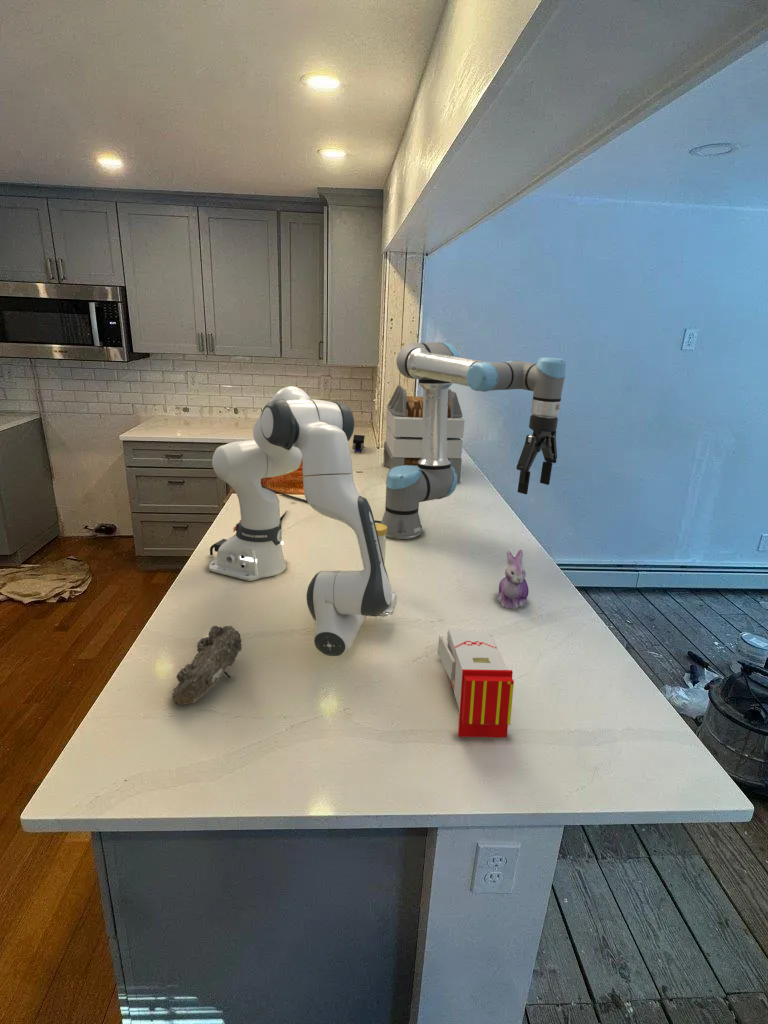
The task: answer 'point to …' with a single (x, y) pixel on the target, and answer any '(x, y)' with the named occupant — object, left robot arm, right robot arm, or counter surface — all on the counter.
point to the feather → (282, 516)
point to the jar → (382, 545)
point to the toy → (478, 682)
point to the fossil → (207, 664)
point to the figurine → (513, 583)
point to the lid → (381, 529)
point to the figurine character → (358, 442)
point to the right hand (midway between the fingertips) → (533, 488)
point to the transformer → (418, 430)
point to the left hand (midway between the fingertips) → (363, 583)
